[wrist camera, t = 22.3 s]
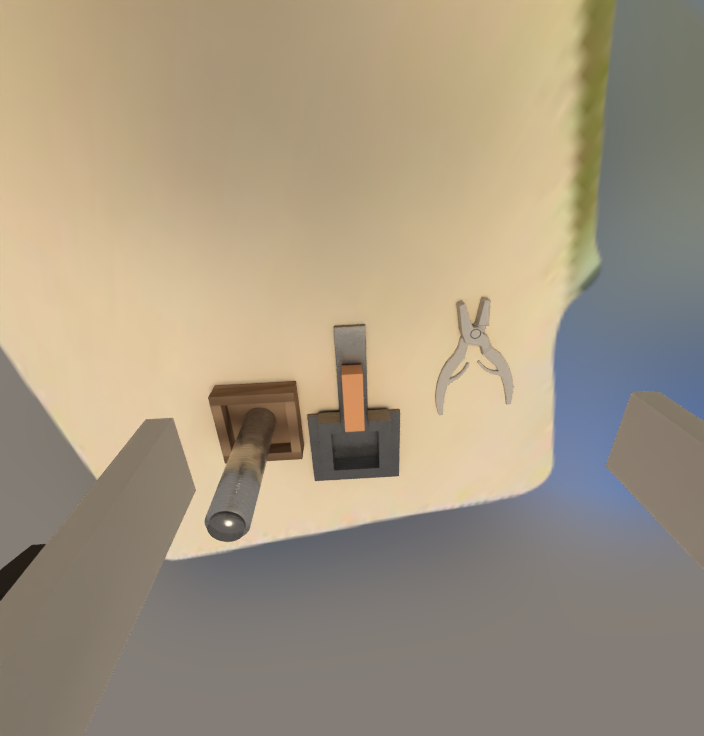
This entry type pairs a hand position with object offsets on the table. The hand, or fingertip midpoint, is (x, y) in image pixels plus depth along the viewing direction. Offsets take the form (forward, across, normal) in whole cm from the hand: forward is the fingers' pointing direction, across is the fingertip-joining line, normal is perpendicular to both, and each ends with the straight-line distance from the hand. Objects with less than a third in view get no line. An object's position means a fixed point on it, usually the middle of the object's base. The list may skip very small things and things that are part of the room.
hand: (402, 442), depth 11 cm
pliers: (+32, +14, -13) cm, 38 cm away
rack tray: (+32, -13, -20) cm, 40 cm away
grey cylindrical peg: (+31, -13, -20) cm, 39 cm away
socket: (+32, -1, -19) cm, 37 cm away
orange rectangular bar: (+32, -1, -17) cm, 36 cm away
